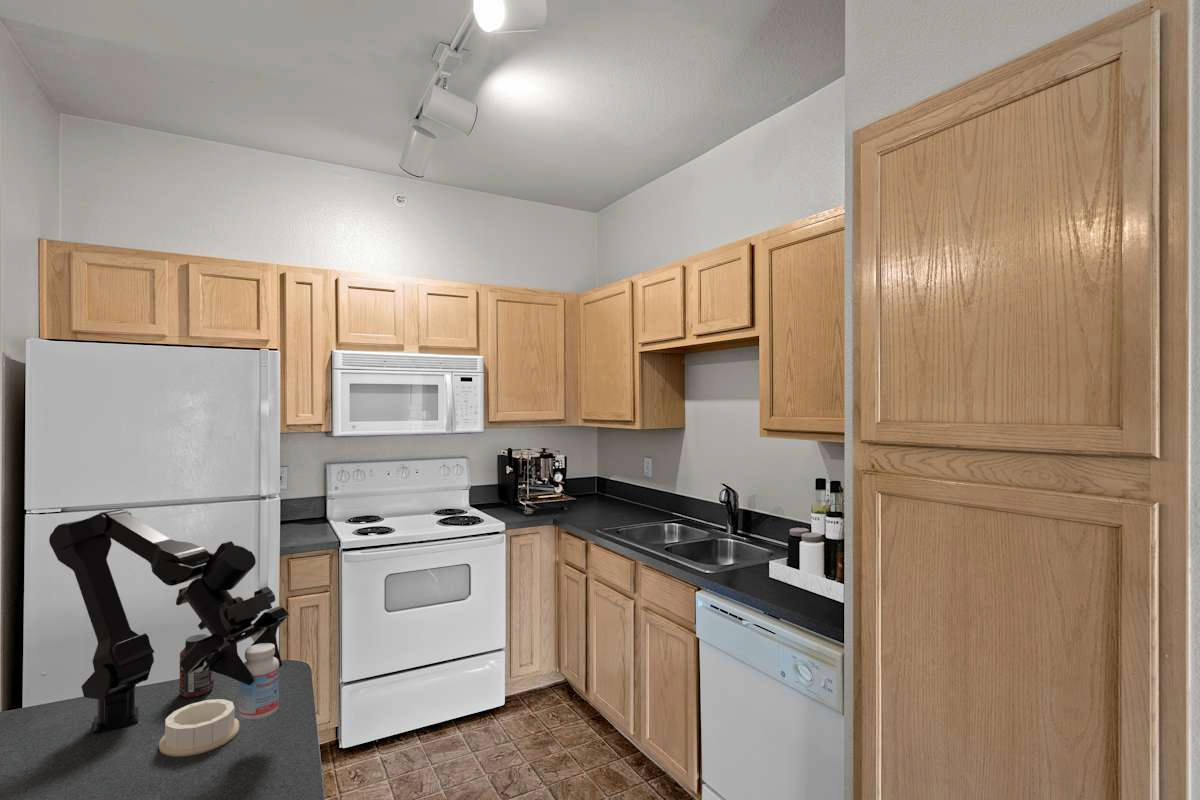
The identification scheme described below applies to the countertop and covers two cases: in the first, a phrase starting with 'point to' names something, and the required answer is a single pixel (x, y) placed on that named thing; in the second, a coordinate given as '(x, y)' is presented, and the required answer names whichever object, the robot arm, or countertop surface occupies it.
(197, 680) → the supplement bottle
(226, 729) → the socket dock
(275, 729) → the countertop surface
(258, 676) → the pill bottle
